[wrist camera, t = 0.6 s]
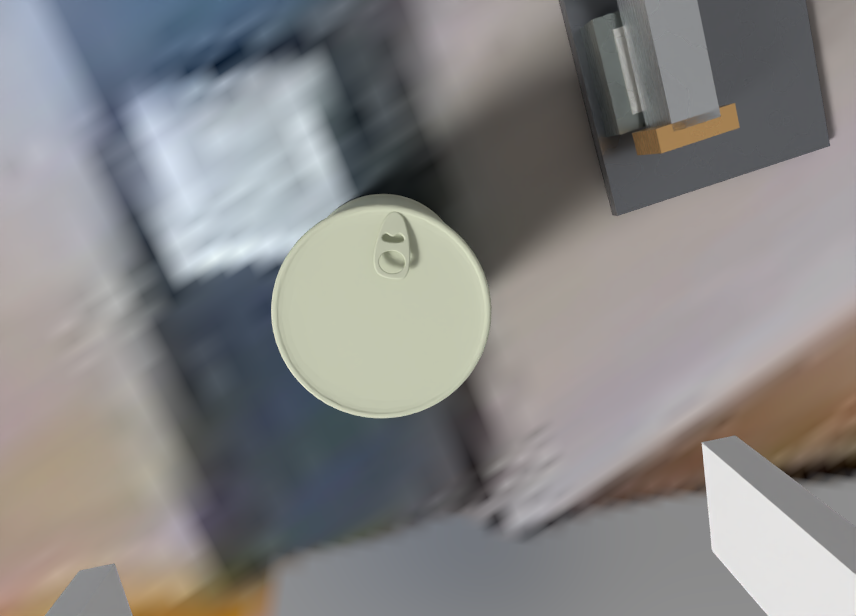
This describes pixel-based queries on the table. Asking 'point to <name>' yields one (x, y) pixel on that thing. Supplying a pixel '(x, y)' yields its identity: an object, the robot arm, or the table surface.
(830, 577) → the robot arm
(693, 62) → the swing arm
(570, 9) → the tray
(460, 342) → the can
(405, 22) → the table surface
